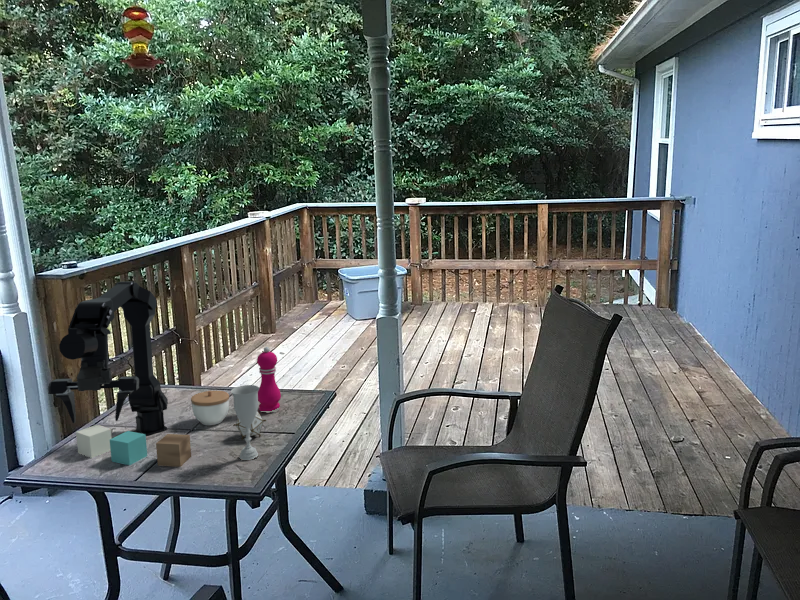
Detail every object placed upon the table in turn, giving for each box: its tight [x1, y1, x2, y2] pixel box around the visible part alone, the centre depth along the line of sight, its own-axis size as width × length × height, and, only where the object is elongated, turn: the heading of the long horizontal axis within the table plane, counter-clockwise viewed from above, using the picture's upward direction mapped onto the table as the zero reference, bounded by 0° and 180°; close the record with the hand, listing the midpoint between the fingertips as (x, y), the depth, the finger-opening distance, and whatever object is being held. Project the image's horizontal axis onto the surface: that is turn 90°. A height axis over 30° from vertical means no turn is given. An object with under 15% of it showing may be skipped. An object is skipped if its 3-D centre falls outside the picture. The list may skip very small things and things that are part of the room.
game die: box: [232, 410, 267, 440], centre depth 181 cm, size 9×8×10 cm
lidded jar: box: [190, 389, 230, 426], centre depth 192 cm, size 11×11×9 cm
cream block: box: [75, 424, 113, 459], centre depth 172 cm, size 6×6×6 cm
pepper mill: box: [256, 346, 282, 412], centre depth 200 cm, size 7×7×20 cm
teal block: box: [110, 430, 148, 466], centre depth 168 cm, size 6×6×6 cm
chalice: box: [230, 384, 260, 460], centre depth 167 cm, size 7×7×18 cm
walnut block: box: [155, 433, 192, 468], centre depth 166 cm, size 6×6×6 cm
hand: (95, 421), depth 154 cm, fingers open, 9 cm apart
